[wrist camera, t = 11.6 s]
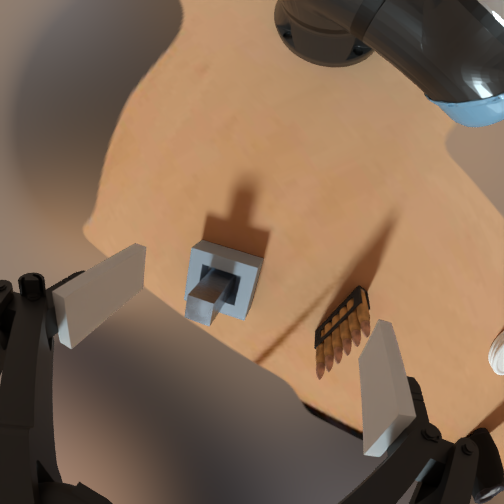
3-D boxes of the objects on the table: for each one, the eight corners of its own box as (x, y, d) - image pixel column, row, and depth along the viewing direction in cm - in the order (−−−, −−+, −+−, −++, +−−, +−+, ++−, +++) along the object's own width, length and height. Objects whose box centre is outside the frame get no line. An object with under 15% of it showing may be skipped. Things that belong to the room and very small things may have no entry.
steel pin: (216, 263, 47) (187, 294, 37) (238, 270, 46) (213, 303, 36) (213, 283, 48) (184, 317, 38) (233, 289, 48) (209, 326, 38)
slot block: (202, 239, 47) (191, 247, 43) (263, 258, 46) (257, 268, 42) (193, 289, 50) (184, 299, 47) (250, 308, 49) (244, 320, 45)
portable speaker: (456, 439, 49) (469, 501, 31) (488, 421, 46) (508, 481, 28) (461, 451, 50) (473, 508, 32) (491, 434, 47) (508, 490, 29)
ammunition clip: (358, 284, 44) (367, 327, 33) (367, 291, 44) (377, 335, 33) (315, 331, 48) (309, 379, 37) (323, 337, 48) (320, 386, 37)
